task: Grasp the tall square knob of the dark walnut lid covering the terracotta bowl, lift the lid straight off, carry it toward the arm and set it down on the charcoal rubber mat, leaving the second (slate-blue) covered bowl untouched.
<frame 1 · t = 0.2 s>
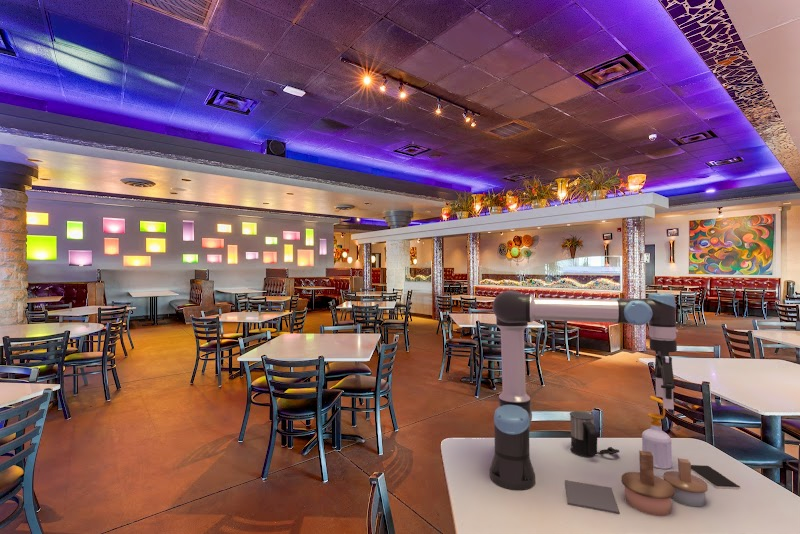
hand: (664, 402, 127), 28 cm above the table, fingers open, 13 cm apart
smartphone: (712, 479, 131), on the table
milk frother: (594, 454, 150), on the table
terracotta bowl: (647, 503, 116), on the table
soap bottle: (657, 464, 141), on the table
walnut lid: (647, 486, 116), point 5 cm above the table, touching terracotta bowl
rubber mat: (590, 496, 120), on the table
slate bowl covered: (685, 497, 119), on the table
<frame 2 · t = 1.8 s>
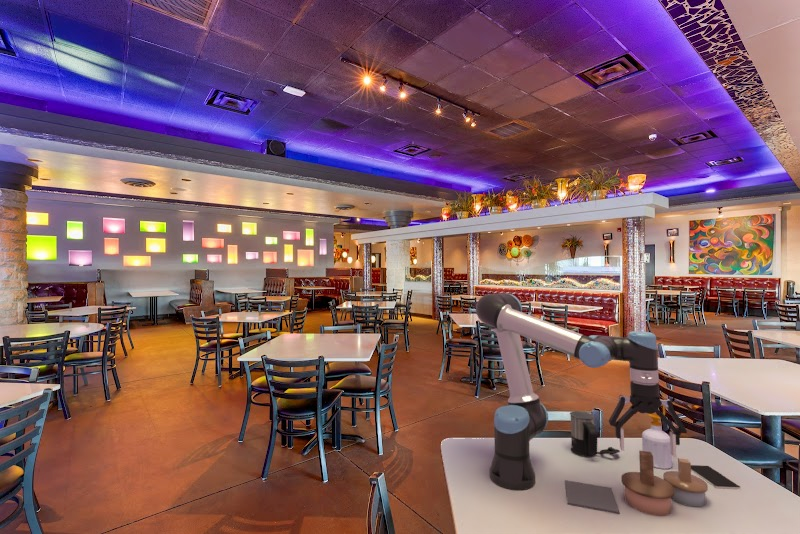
hand: (647, 452, 116), 16 cm above the table, fingers open, 13 cm apart
nothing on the table moved.
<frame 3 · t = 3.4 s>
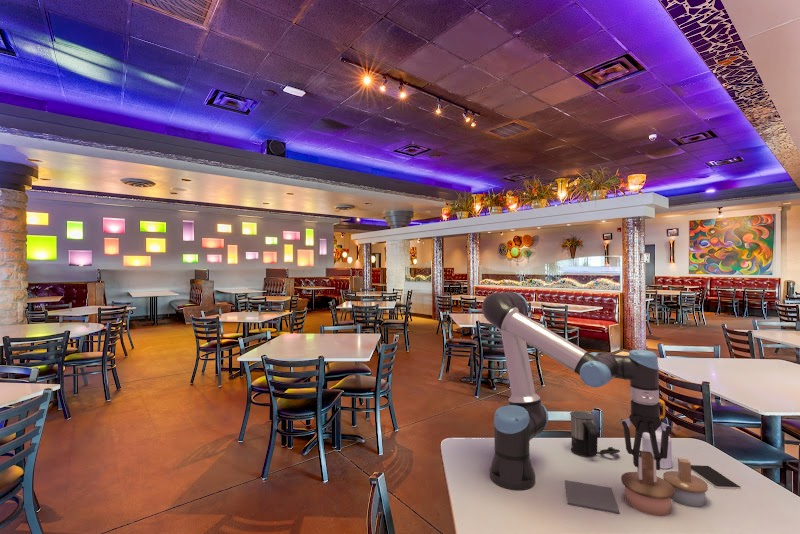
hand: (646, 478, 116), 8 cm above the table, fingers closed on walnut lid, 3 cm apart
walnut lid: (647, 486, 116), point 5 cm above the table, touching gripper
everything else where it was.
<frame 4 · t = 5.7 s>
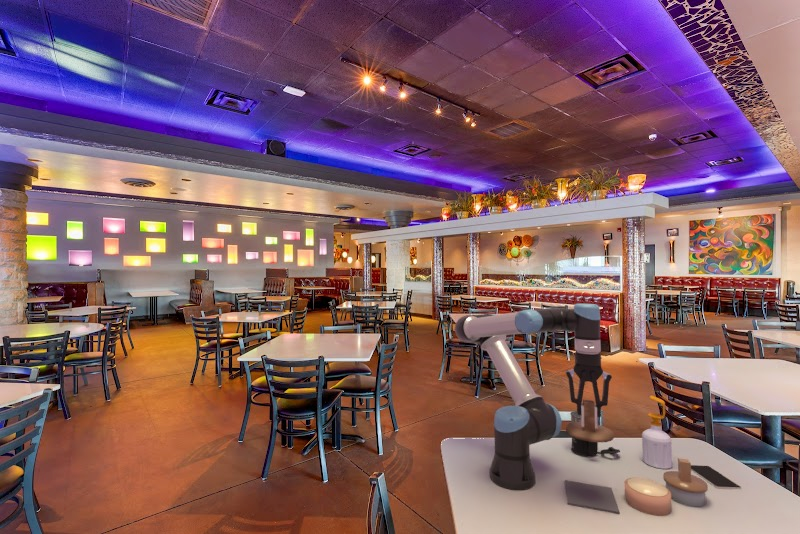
hand: (589, 425, 121), 22 cm above the table, fingers closed on walnut lid, 3 cm apart
walnut lid: (589, 433, 121), point 20 cm above the table, touching gripper
everything else where it was.
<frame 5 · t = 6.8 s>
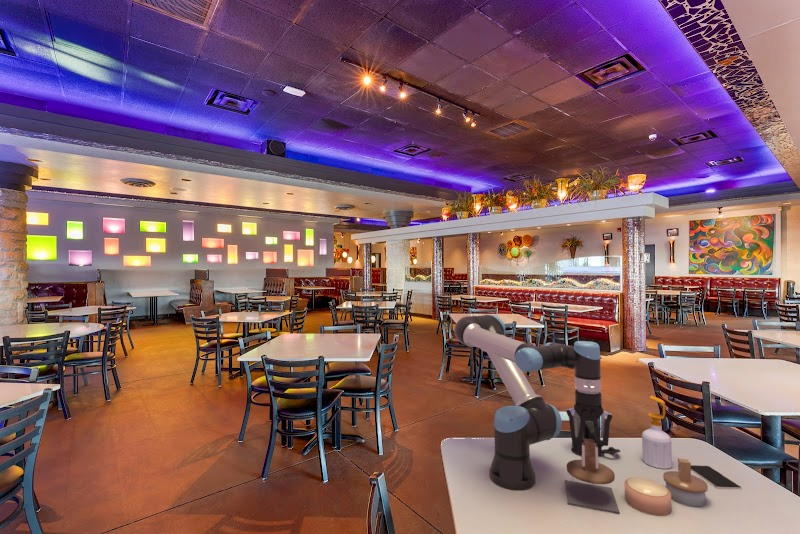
hand: (589, 465, 120), 10 cm above the table, fingers closed on walnut lid, 3 cm apart
walnut lid: (590, 472, 120), point 7 cm above the table, touching gripper
everything else where it was.
when the fingers open (4 cm above the table, at t = 8.0 s): walnut lid drops 1 cm, resting on rubber mat.
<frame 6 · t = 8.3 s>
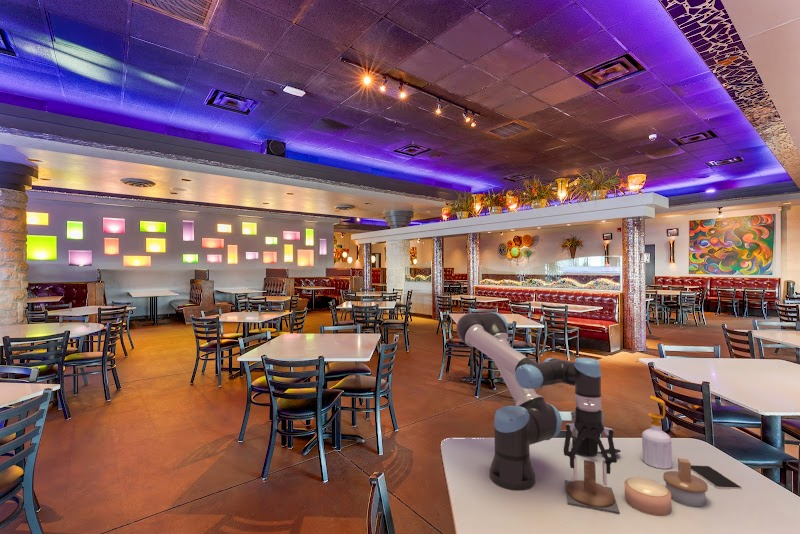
hand: (589, 480, 120), 5 cm above the table, fingers open, 8 cm apart
walnut lid: (590, 494, 120), point 1 cm above the table, touching rubber mat
everything else where it was.
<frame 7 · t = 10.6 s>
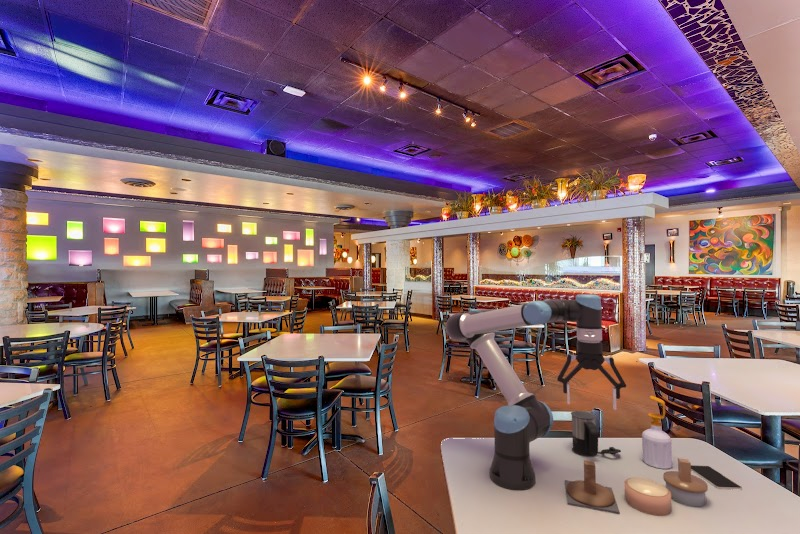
hand: (591, 405, 125), 27 cm above the table, fingers open, 13 cm apart
nothing on the table moved.
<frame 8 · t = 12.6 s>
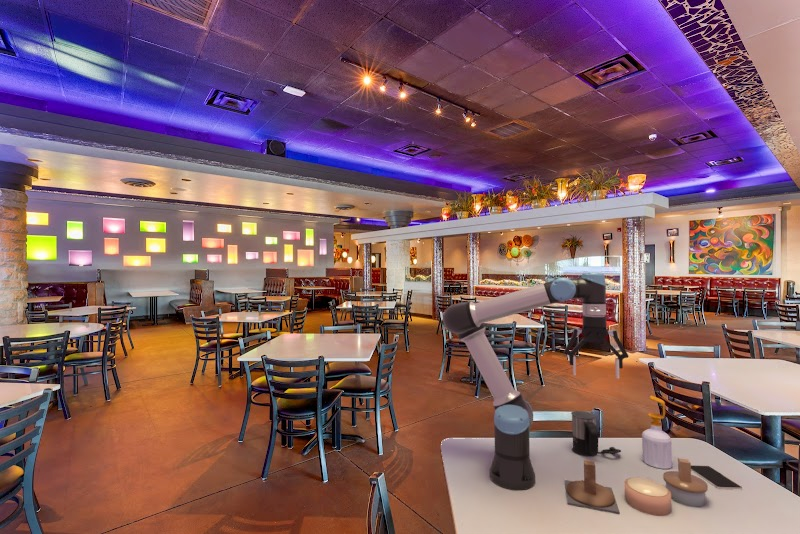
hand: (595, 376, 134), 35 cm above the table, fingers open, 13 cm apart
nothing on the table moved.
at the end: walnut lid inside the target area on the rubber mat (0.1 cm from its centre), point 0.6 cm above the rubber mat's base; walnut lid tilted 0°; walnut lid touching rubber mat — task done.
